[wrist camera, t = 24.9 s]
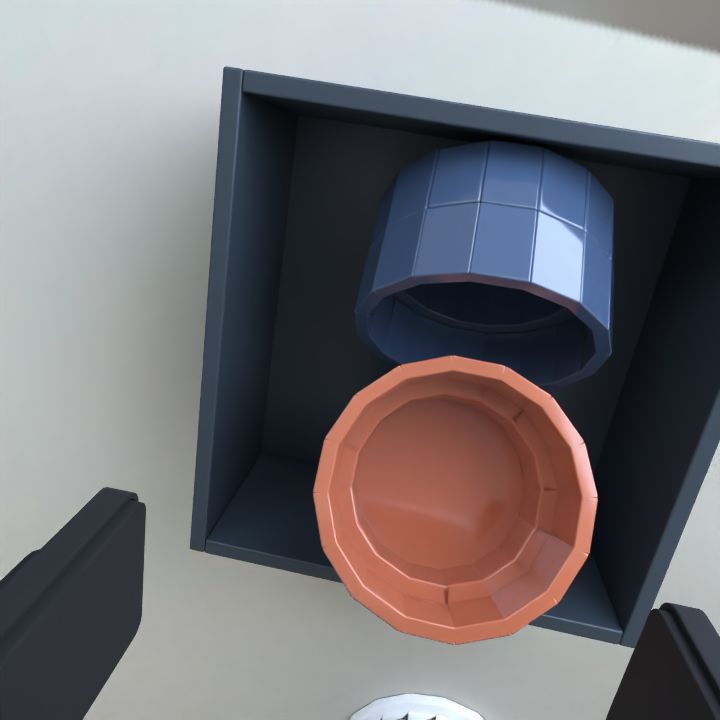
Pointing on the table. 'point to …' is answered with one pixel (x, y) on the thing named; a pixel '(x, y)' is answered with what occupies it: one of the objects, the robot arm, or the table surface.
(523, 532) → the terracotta flower pot
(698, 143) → the tub
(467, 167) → the faceted blue pot
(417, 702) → the decorative candle
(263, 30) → the table surface
